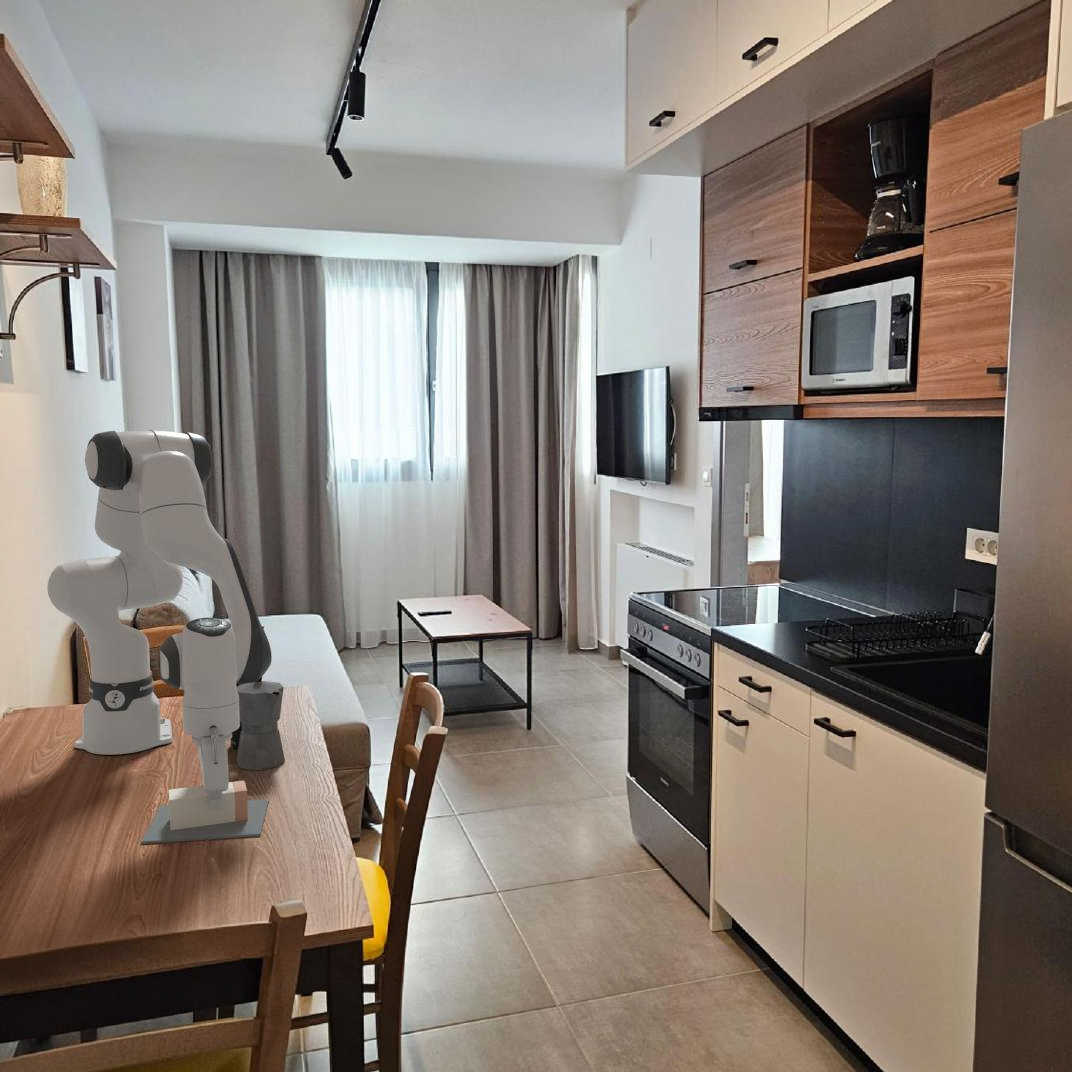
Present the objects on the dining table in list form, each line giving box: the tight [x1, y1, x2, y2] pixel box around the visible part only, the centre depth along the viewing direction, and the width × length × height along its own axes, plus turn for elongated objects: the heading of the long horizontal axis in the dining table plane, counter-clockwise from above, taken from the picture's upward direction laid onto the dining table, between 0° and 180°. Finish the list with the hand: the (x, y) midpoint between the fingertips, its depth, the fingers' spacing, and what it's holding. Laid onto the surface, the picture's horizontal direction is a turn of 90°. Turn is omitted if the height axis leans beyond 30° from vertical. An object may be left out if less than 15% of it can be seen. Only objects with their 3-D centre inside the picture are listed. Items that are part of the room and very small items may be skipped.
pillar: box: [168, 780, 248, 830], centre depth 161 cm, size 5×5×12 cm
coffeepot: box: [236, 676, 286, 771], centre depth 191 cm, size 15×9×18 cm, turn 50°
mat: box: [140, 798, 270, 845], centre depth 162 cm, size 15×18×1 cm
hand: (213, 800), depth 162 cm, fingers open, 6 cm apart
